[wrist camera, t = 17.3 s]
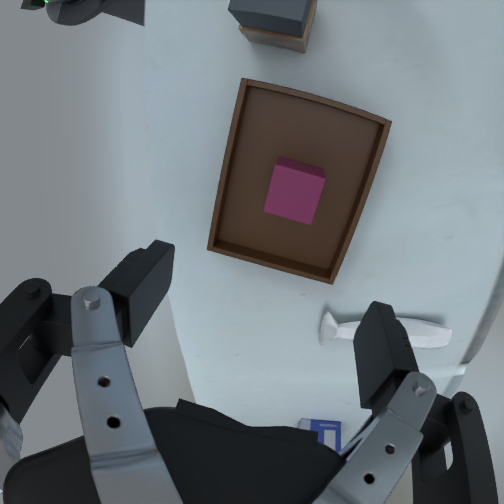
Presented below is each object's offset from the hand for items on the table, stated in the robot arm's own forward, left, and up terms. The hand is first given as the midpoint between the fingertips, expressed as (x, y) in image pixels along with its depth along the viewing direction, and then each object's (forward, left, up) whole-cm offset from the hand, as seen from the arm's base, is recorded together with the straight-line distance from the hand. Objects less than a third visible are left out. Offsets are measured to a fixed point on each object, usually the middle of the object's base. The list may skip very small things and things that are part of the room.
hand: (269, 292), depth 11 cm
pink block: (+1, -1, -20) cm, 20 cm away
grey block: (-5, +15, -16) cm, 22 cm away
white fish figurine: (+17, -15, -21) cm, 31 cm away
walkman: (+18, -42, -21) cm, 50 cm away
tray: (0, -1, -21) cm, 21 cm away
